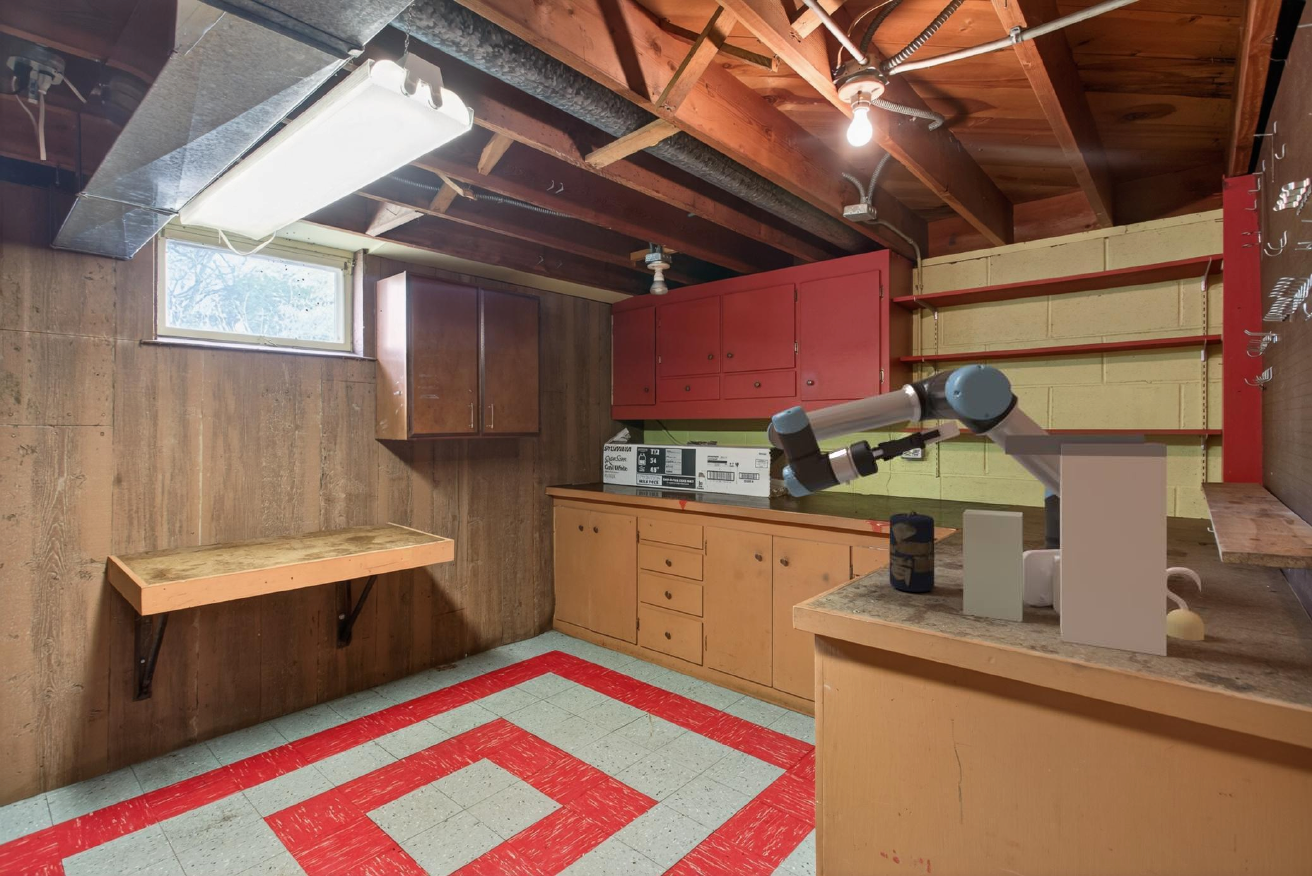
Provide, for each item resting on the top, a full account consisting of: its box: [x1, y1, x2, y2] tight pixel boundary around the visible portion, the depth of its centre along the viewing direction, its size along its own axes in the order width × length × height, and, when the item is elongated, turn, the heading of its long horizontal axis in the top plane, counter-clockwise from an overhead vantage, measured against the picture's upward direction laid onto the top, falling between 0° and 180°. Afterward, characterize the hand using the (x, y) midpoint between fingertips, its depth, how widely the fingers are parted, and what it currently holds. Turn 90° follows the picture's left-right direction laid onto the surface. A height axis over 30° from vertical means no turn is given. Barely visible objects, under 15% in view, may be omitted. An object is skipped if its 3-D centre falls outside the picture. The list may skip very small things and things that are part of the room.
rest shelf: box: [962, 508, 1024, 623], centre depth 122 cm, size 7×10×20 cm
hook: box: [1166, 566, 1205, 642], centre depth 108 cm, size 6×5×12 cm
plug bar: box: [1004, 434, 1146, 456], centre depth 108 cm, size 4×20×4 cm, turn 58°
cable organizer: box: [1023, 549, 1060, 615], centre depth 123 cm, size 15×11×12 cm
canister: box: [888, 510, 935, 593], centre depth 141 cm, size 10×10×18 cm
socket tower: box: [1059, 442, 1168, 657], centre depth 105 cm, size 8×14×34 cm, turn 58°
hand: (957, 427), depth 124 cm, fingers open, 13 cm apart
